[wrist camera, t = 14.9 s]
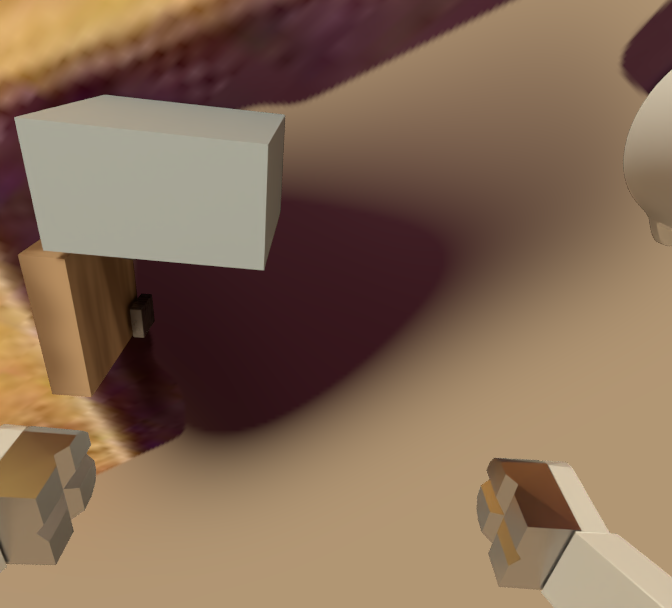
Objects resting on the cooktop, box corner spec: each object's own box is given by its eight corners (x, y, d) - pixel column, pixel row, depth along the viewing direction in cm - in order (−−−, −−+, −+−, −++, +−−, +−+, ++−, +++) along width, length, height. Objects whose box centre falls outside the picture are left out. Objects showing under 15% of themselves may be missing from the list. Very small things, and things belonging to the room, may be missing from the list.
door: (126, 207, 41) (64, 259, 31) (140, 323, 47) (91, 396, 37) (79, 202, 41) (2, 253, 31) (99, 320, 46) (39, 393, 37)
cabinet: (285, 114, 37) (268, 144, 27) (280, 211, 41) (263, 270, 31) (104, 94, 36) (14, 117, 26) (117, 195, 40) (43, 250, 30)
